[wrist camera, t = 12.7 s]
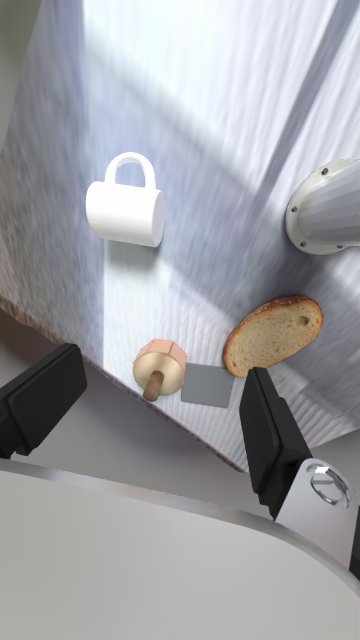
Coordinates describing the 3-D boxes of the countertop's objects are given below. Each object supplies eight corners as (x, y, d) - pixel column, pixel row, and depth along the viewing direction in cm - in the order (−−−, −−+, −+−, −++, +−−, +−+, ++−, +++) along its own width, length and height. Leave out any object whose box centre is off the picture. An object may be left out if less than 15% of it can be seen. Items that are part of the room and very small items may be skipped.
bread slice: (223, 373, 43) (224, 384, 39) (222, 298, 36) (224, 303, 33) (307, 374, 40) (316, 386, 36) (323, 293, 33) (336, 298, 30)
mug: (162, 246, 34) (150, 248, 27) (112, 238, 35) (86, 238, 28) (170, 167, 29) (157, 143, 22) (111, 159, 30) (80, 134, 23)
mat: (235, 369, 43) (235, 370, 42) (227, 406, 47) (227, 408, 47) (183, 362, 44) (183, 364, 43) (181, 399, 49) (181, 401, 48)
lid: (185, 355, 37) (180, 376, 31) (182, 396, 41) (178, 421, 36) (133, 348, 38) (119, 368, 32) (135, 389, 43) (124, 412, 37)
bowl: (188, 342, 42) (185, 355, 37) (185, 381, 46) (182, 396, 41) (140, 337, 43) (132, 348, 38) (142, 375, 47) (135, 389, 43)
